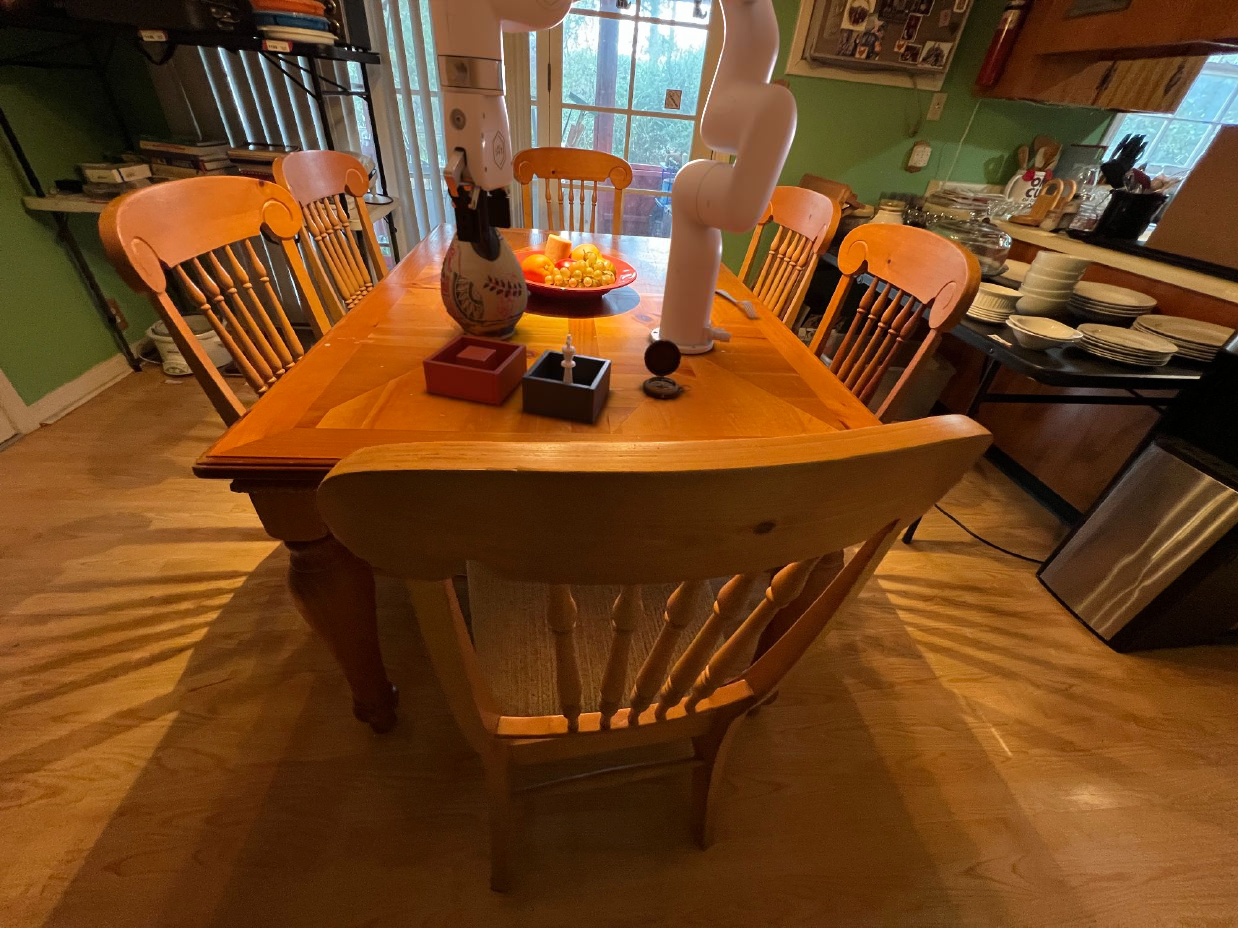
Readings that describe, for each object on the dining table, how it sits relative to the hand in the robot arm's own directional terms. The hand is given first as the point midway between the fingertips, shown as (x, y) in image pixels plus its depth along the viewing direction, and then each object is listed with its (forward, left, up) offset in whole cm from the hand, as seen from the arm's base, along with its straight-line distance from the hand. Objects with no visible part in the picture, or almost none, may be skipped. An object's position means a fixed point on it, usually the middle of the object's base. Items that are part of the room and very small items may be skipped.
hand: (486, 234), depth 70 cm
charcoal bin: (-13, +4, -22) cm, 26 cm away
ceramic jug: (+9, -16, -22) cm, 29 cm away
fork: (-37, -60, -22) cm, 74 cm away
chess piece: (-13, +4, -21) cm, 25 cm away
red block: (+2, +3, -21) cm, 21 cm away
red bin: (+2, +3, -22) cm, 22 cm away
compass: (-27, -6, -22) cm, 36 cm away
